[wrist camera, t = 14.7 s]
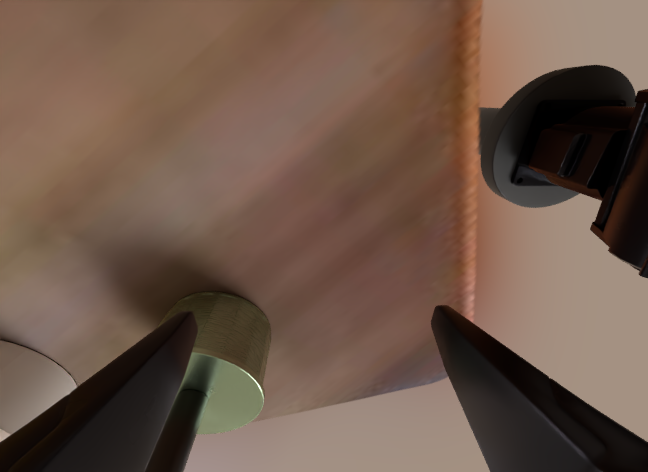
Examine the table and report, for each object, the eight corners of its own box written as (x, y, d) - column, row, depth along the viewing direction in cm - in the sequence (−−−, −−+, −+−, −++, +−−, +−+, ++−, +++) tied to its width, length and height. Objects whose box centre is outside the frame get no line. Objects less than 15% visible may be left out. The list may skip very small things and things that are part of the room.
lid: (257, 336, 19) (235, 431, 13) (271, 418, 24) (259, 510, 19) (101, 340, 18) (13, 440, 13) (151, 423, 24) (103, 518, 18)
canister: (265, 290, 24) (250, 348, 18) (275, 361, 29) (265, 424, 23) (153, 292, 24) (103, 352, 18) (182, 363, 29) (150, 428, 23)
